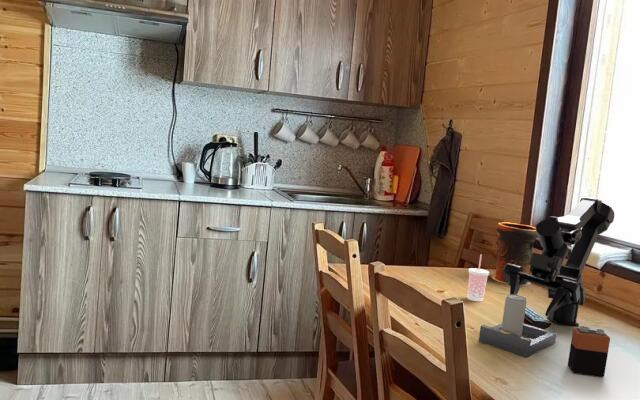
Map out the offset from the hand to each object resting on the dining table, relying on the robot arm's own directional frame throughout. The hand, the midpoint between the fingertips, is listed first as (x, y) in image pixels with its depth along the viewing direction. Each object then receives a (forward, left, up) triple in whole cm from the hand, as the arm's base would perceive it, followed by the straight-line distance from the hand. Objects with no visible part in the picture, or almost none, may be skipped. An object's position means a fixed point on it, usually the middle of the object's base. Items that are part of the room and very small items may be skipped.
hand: (527, 309), depth 155 cm
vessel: (-25, -65, -8) cm, 69 cm away
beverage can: (+6, +5, -8) cm, 11 cm away
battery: (-6, +19, -8) cm, 22 cm away
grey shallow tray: (+3, +3, -8) cm, 9 cm away
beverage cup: (-1, -36, -8) cm, 36 cm away
